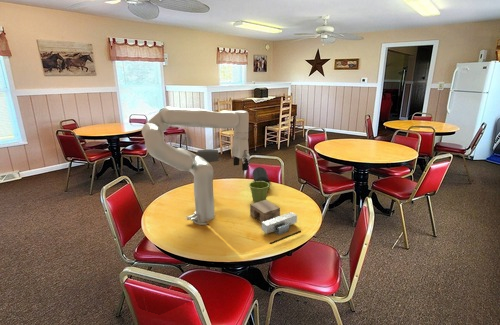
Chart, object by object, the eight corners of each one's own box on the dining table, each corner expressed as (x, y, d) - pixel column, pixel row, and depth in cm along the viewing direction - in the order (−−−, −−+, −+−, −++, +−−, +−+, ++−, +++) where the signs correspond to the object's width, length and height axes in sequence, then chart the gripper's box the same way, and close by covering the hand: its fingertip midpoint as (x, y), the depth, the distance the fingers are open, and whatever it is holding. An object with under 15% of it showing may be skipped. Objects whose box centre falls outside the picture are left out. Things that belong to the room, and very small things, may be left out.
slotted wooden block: (263, 227, 141) (263, 213, 139) (250, 218, 150) (250, 204, 148) (279, 221, 146) (280, 207, 144) (265, 212, 156) (265, 199, 153)
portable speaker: (270, 192, 183) (270, 178, 180) (255, 193, 182) (255, 178, 179) (266, 178, 207) (266, 165, 204) (252, 179, 206) (252, 166, 204)
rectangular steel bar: (266, 233, 130) (266, 225, 129) (261, 229, 133) (261, 222, 132) (296, 222, 139) (297, 215, 138) (291, 219, 142) (291, 211, 141)
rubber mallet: (220, 194, 181) (218, 147, 172) (220, 198, 174) (217, 150, 165) (200, 194, 181) (197, 148, 172) (199, 199, 173) (196, 151, 165)
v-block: (271, 244, 127) (271, 234, 125) (255, 232, 136) (255, 223, 135) (301, 232, 136) (301, 222, 135) (284, 221, 146) (284, 213, 144)
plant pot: (269, 198, 174) (269, 181, 170) (269, 207, 162) (269, 188, 159) (250, 198, 175) (250, 180, 172) (248, 206, 164) (247, 188, 160)
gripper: (226, 133, 151) (227, 164, 156) (242, 139, 137) (242, 173, 142) (239, 132, 155) (239, 162, 160) (256, 137, 141) (255, 171, 145)
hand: (240, 167), depth 151 cm, fingers open, 9 cm apart
